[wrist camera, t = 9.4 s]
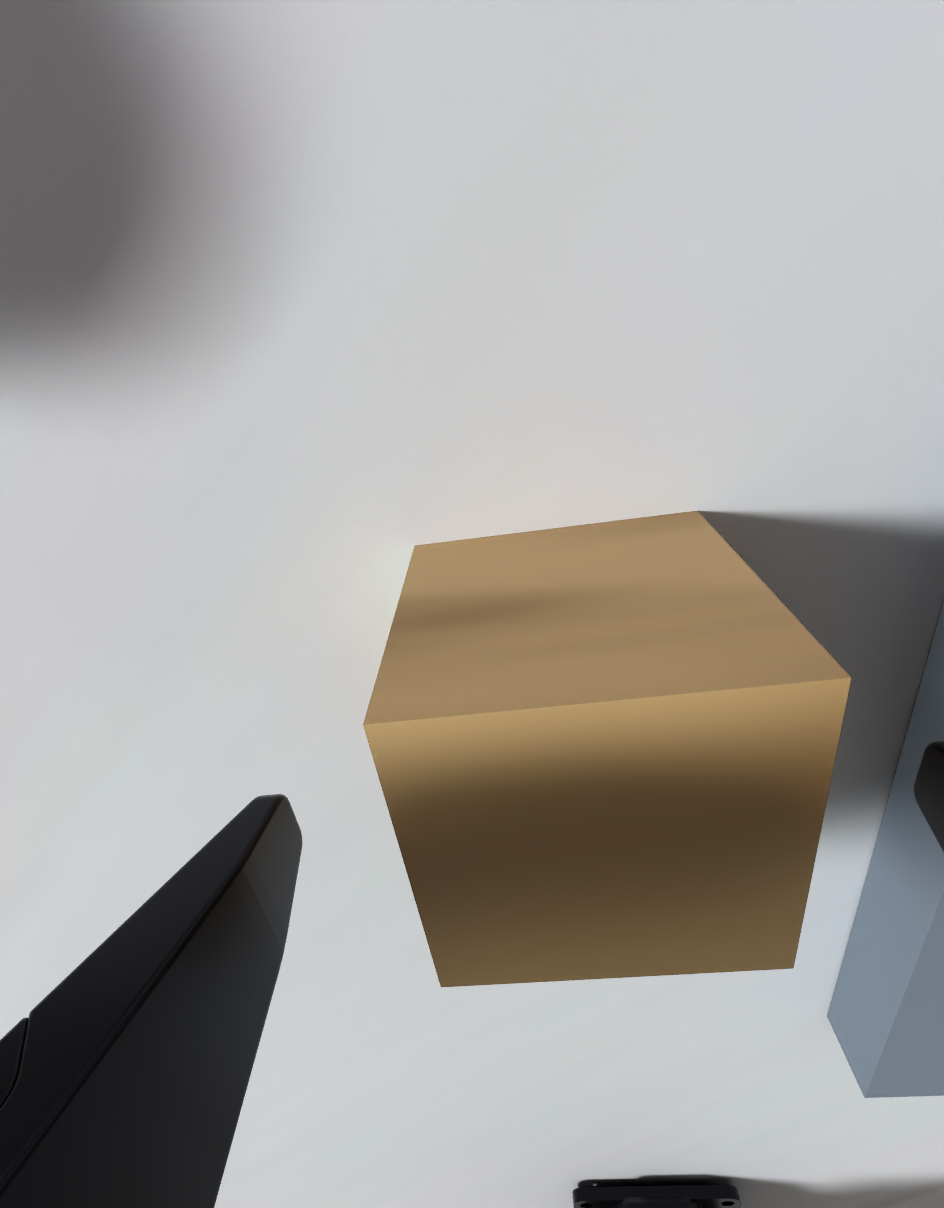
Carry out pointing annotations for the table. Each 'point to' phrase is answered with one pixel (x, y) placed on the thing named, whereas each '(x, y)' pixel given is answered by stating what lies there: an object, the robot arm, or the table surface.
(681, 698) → the ochre block
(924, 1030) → the board
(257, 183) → the table surface
